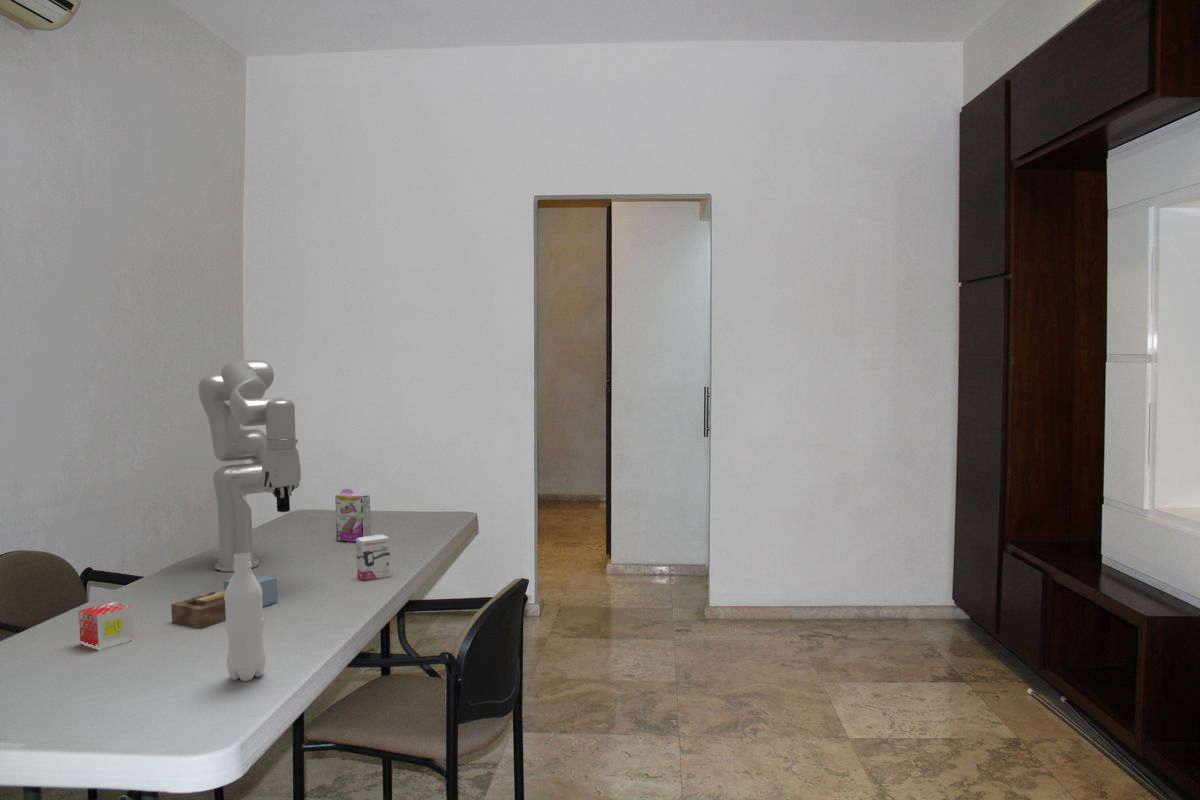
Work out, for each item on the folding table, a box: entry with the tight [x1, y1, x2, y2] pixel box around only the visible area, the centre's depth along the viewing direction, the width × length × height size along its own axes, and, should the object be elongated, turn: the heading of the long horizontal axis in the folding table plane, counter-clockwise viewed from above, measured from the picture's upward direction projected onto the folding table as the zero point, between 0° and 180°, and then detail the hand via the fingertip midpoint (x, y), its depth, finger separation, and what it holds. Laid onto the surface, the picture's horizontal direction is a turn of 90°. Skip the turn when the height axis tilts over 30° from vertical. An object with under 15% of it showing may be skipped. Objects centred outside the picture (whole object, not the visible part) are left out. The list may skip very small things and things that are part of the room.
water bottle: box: [224, 553, 266, 682], centre depth 171 cm, size 7×7×25 cm
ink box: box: [355, 534, 391, 582], centre depth 247 cm, size 8×5×12 cm, turn 123°
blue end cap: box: [223, 573, 279, 608], centre depth 222 cm, size 10×8×6 cm
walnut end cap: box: [170, 591, 226, 629], centre depth 211 cm, size 12×12×4 cm
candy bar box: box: [335, 493, 372, 543], centre depth 296 cm, size 11×5×16 cm, turn 71°
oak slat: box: [197, 590, 225, 606], centre depth 217 cm, size 4×16×5 cm, turn 151°
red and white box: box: [78, 601, 135, 647], centre depth 194 cm, size 8×8×8 cm
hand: (283, 511), depth 234 cm, fingers closed
